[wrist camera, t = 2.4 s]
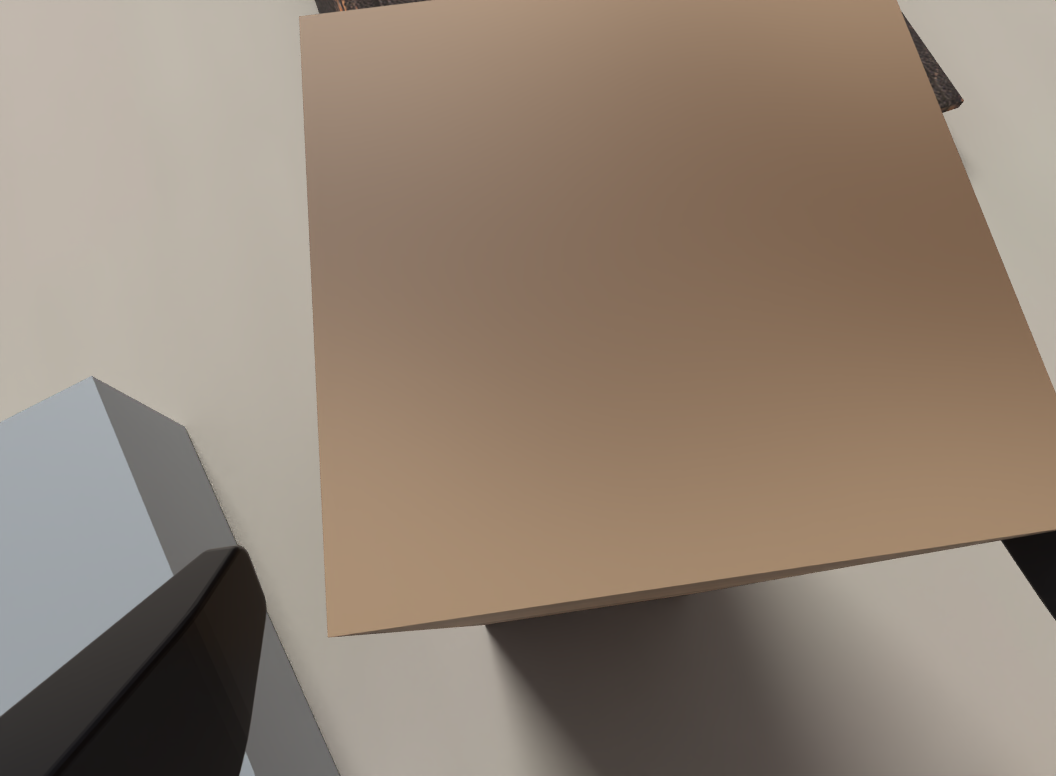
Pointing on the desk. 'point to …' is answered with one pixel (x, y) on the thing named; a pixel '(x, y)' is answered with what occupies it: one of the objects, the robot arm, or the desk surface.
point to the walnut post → (648, 307)
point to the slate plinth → (118, 551)
